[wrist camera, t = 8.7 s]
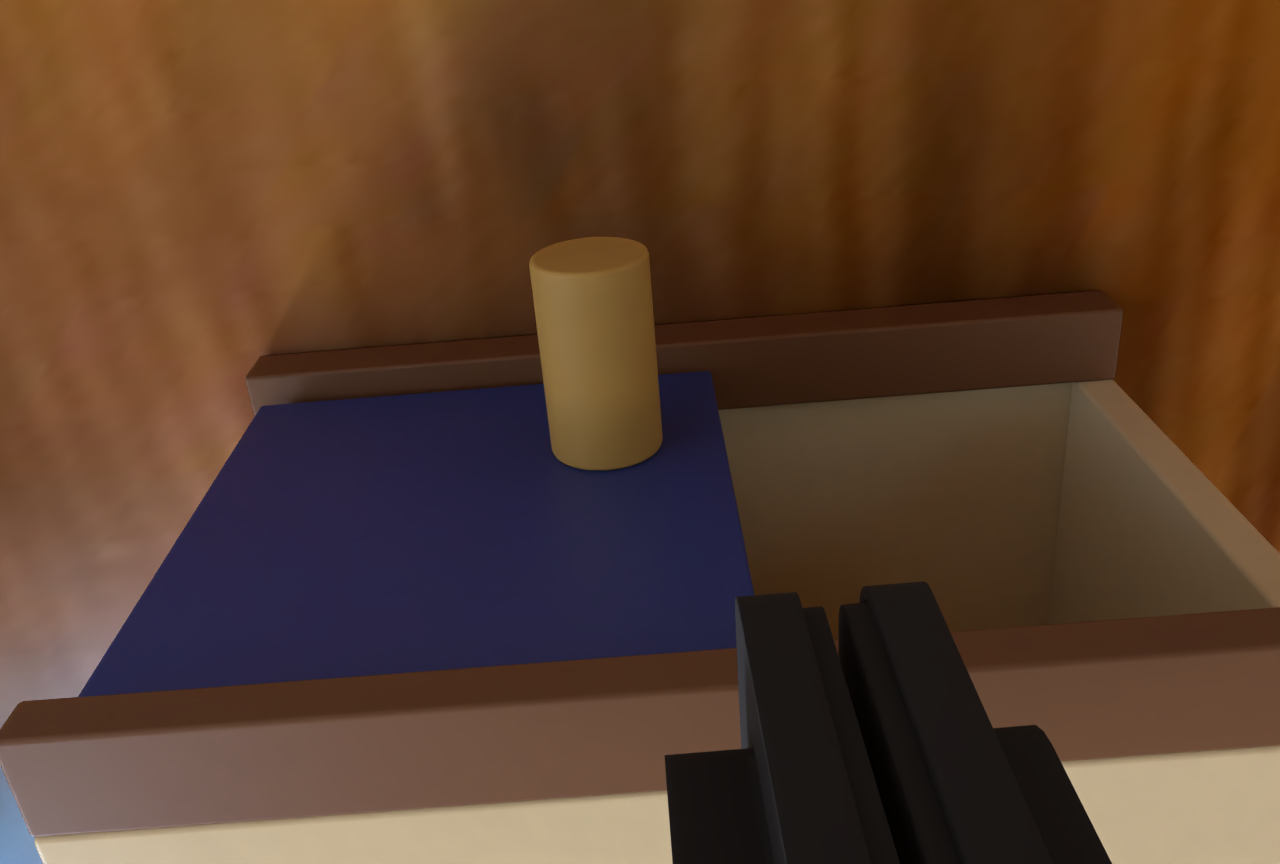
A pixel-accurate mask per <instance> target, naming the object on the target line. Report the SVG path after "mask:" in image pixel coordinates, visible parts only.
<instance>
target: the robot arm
mask: <svg viewBox="0 0 1280 864" xmlns="http://www.w3.org/2000/svg"><path fill="white" fill-rule="evenodd" d="M735 621H736V644H737V666H738V689H739V711H740V734H741V749H734V750H721V751H709V752H697V753H685V754H673V755H664V756H665V770H666V783H667V796H668V809H669V822H670V835H671V848H672V861H673V864H1112V862H1111V860H1110V858H1109V856H1108V854H1107V852H1106V850H1105V848H1104V846H1103V844H1102V842H1101V841H1100V839H1099V837H1098V835H1097V833H1096V831H1095V829H1094V827H1093V825H1092V823H1091V821H1090V819H1089V817H1088V815H1087V813H1086V811H1085V809H1084V807H1083V805H1082V803H1081V801H1080V799H1079V797H1078V795H1077V793H1076V791H1075V789H1074V787H1073V785H1072V783H1071V781H1070V779H1069V777H1068V775H1067V773H1066V771H1065V769H1064V767H1063V765H1062V763H1061V761H1060V759H1059V757H1058V755H1057V753H1056V751H1055V749H1054V747H1053V745H1052V743H1051V742H1050V740H1049V739H1048V737H1047V736H1046V734H1045V732H1044V731H1043V730H1042V729H1040V728H1039V727H1038V726H1036V725H1026V726H1014V727H1002V728H993V727H992V725H991V722H990V720H989V718H988V716H987V713H986V711H985V709H984V707H983V704H982V702H981V700H980V698H979V696H978V693H977V691H976V689H975V687H974V684H973V682H972V680H971V678H970V675H969V673H968V671H967V669H966V666H965V664H964V662H963V660H962V657H961V655H960V653H959V651H958V648H957V646H956V644H955V642H954V639H953V637H952V635H951V633H950V631H949V628H948V626H947V624H946V622H945V619H944V617H943V615H942V613H941V610H940V608H939V606H938V604H937V601H936V599H935V597H934V595H933V592H932V590H931V588H930V587H929V585H928V583H926V582H924V581H922V582H909V583H897V584H885V585H873V586H864V587H863V588H862V589H861V593H860V600H859V603H855V604H843V605H841V606H840V609H839V632H838V653H837V650H836V646H835V643H834V640H833V636H832V633H831V630H830V626H829V623H828V620H827V616H826V613H825V610H824V608H823V607H822V606H819V607H807V608H802V605H801V601H800V598H799V595H798V593H797V592H788V593H776V594H764V595H752V596H740V597H736V599H735Z"/></svg>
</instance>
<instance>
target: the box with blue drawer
mask: <svg viewBox="0 0 1280 864" xmlns="http://www.w3.org/2000/svg"><path fill="white" fill-rule="evenodd" d="M1122 318H1123V309H1122V308H1121V307H1120V306H1119V305H1118V304H1117V303H1116V302H1114V301H1113V300H1112V299H1111V298H1110V297H1109V296H1108V295H1107V294H1105V293H1104V292H1103V291H1100V290H1099V291H1087V292H1074V293H1061V294H1048V295H1036V296H1023V297H1010V298H997V299H985V300H972V301H959V302H946V303H934V304H921V305H908V306H895V307H883V308H870V309H857V310H844V311H832V312H819V313H806V314H793V315H781V316H768V317H755V318H742V319H730V320H717V321H704V322H691V323H679V324H666V325H654V327H655V341H656V354H657V368H658V375H663V374H676V373H689V372H702V371H710V372H711V375H712V380H713V386H714V391H715V396H716V401H717V406H718V411H719V416H720V421H721V426H722V431H723V436H724V441H725V447H726V452H727V457H728V462H729V467H730V472H731V477H732V482H733V487H734V492H735V497H736V502H737V508H738V513H739V518H740V523H741V528H742V533H743V538H744V543H745V548H746V553H747V558H748V564H749V569H750V574H751V579H752V584H753V589H754V594H755V595H764V594H776V593H788V592H797V593H798V595H799V598H800V601H801V605H802V608H807V607H819V606H822V607H823V608H824V610H825V613H826V616H827V620H828V623H829V626H830V630H831V633H832V636H833V640H834V643H835V646H836V650H837V653H838V632H839V609H840V606H841V605H843V604H855V603H859V600H860V593H861V589H862V588H863V587H864V586H873V585H885V584H897V583H909V582H922V581H924V582H926V583H928V585H929V587H930V588H931V590H932V592H933V595H934V597H935V599H936V601H937V604H938V606H939V608H940V610H941V613H942V615H943V617H944V619H945V622H946V624H947V626H948V628H949V631H950V633H951V635H952V637H953V639H954V642H955V644H956V646H957V648H958V651H959V653H960V655H961V657H962V660H963V662H964V664H965V666H966V669H967V671H968V673H969V675H970V678H971V680H972V682H973V684H974V687H975V689H976V691H977V693H978V696H979V698H980V700H981V702H982V704H983V707H984V709H985V711H986V713H987V716H988V718H989V720H990V722H991V725H992V727H993V728H1002V727H1014V726H1026V725H1036V726H1038V727H1039V728H1040V729H1042V730H1043V731H1044V732H1045V734H1046V736H1047V737H1048V739H1049V740H1050V742H1051V743H1052V745H1053V747H1054V749H1055V751H1056V753H1057V755H1058V757H1059V759H1060V761H1061V763H1062V765H1063V767H1064V769H1065V771H1066V773H1067V775H1068V777H1069V779H1070V781H1071V783H1072V785H1073V787H1074V789H1075V791H1076V793H1077V795H1078V797H1079V799H1080V801H1081V803H1082V805H1083V807H1084V809H1085V811H1086V813H1087V815H1088V817H1089V819H1090V821H1091V823H1092V825H1093V827H1094V829H1095V831H1096V833H1097V835H1098V837H1099V839H1100V841H1101V842H1102V844H1103V846H1104V848H1105V850H1106V852H1107V854H1108V856H1109V858H1110V860H1111V862H1112V864H1280V553H1279V552H1278V551H1277V550H1276V549H1275V548H1274V547H1273V546H1272V545H1271V544H1270V543H1269V542H1268V541H1267V540H1266V539H1265V538H1264V537H1263V536H1262V535H1261V533H1260V532H1259V531H1258V530H1257V529H1256V528H1255V527H1254V526H1253V525H1252V524H1251V523H1250V522H1249V521H1248V520H1247V519H1246V518H1245V517H1244V516H1243V515H1242V514H1241V513H1240V512H1239V511H1238V510H1237V508H1236V507H1235V506H1234V505H1233V504H1232V503H1231V502H1230V501H1229V500H1228V499H1227V498H1226V497H1225V496H1224V495H1223V494H1222V493H1221V492H1220V491H1219V490H1218V489H1217V488H1216V487H1215V486H1214V485H1213V483H1212V482H1211V481H1210V480H1209V479H1208V478H1207V477H1206V476H1205V475H1204V474H1203V473H1202V472H1201V471H1200V470H1199V469H1198V468H1197V467H1196V466H1195V465H1194V464H1193V463H1192V462H1191V461H1190V459H1189V458H1188V457H1187V456H1186V455H1185V454H1184V453H1183V452H1182V451H1181V450H1180V449H1179V448H1178V447H1177V446H1176V445H1175V444H1174V443H1173V442H1172V441H1171V440H1170V439H1169V438H1168V437H1167V436H1166V434H1165V433H1164V432H1163V431H1162V430H1161V429H1160V428H1159V427H1158V426H1157V425H1156V424H1155V423H1154V422H1153V421H1152V420H1151V419H1150V418H1149V417H1148V416H1147V415H1146V414H1145V413H1144V412H1143V411H1142V409H1141V408H1140V407H1139V406H1138V405H1137V404H1136V403H1135V402H1134V401H1133V400H1132V399H1131V398H1130V397H1129V396H1128V395H1127V394H1126V393H1125V392H1124V391H1123V390H1122V389H1121V388H1120V387H1119V385H1118V384H1117V383H1116V382H1115V381H1114V380H1113V379H1114V378H1115V375H1116V367H1117V359H1118V351H1119V343H1120V334H1121V326H1122ZM245 381H246V385H247V389H248V393H249V397H250V401H251V405H252V409H253V413H254V417H255V415H256V414H257V412H258V411H259V409H260V407H261V406H265V405H278V404H291V403H304V402H316V401H329V400H342V399H355V398H368V397H381V396H393V395H406V394H419V393H432V392H445V391H458V390H470V389H483V388H496V387H509V386H522V385H535V384H544V382H543V374H542V366H541V358H540V349H539V341H538V335H526V336H513V337H500V338H487V339H475V340H462V341H449V342H436V343H424V344H411V345H398V346H385V347H372V348H360V349H347V350H334V351H321V352H309V353H296V354H283V355H270V356H261V357H259V359H258V360H257V362H256V363H255V365H254V366H253V367H252V369H251V370H250V372H249V373H248V375H247V376H246V379H245ZM734 749H741V734H740V711H739V689H738V666H737V648H728V649H714V650H701V651H688V652H674V653H661V654H648V655H634V656H621V657H608V658H594V659H581V660H568V661H554V662H541V663H528V664H514V665H501V666H488V667H474V668H461V669H448V670H434V671H421V672H408V673H394V674H381V675H368V676H354V677H341V678H328V679H314V680H301V681H288V682H274V683H261V684H248V685H234V686H221V687H208V688H194V689H181V690H168V691H154V692H141V693H128V694H114V695H101V696H88V697H74V698H61V699H48V700H34V701H23V702H21V703H19V704H18V705H17V706H16V708H15V709H14V711H13V712H12V713H11V715H10V716H9V718H8V719H7V721H6V722H5V723H4V725H3V726H2V728H1V729H0V765H1V767H2V770H3V772H4V775H5V777H6V779H7V782H8V784H9V786H10V789H11V791H12V793H13V796H14V798H15V800H16V803H17V805H18V807H19V810H20V812H21V814H22V817H23V819H24V821H25V824H26V826H27V828H28V831H29V833H30V835H32V836H34V837H35V845H36V848H37V850H38V852H39V855H40V857H41V859H42V862H43V864H673V861H672V848H671V835H670V822H669V809H668V796H667V783H666V770H665V756H664V755H673V754H685V753H697V752H709V751H721V750H734Z"/></svg>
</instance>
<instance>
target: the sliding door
mask: <svg viewBox="0 0 1280 864" xmlns="http://www.w3.org/2000/svg"><path fill="white" fill-rule="evenodd" d="M529 268H530V276H531V284H532V293H533V301H534V309H535V317H536V325H537V333H538V341H539V349H540V358H541V366H542V374H543V382H544V384H535V385H522V386H509V387H496V388H483V389H470V390H458V391H445V392H432V393H419V394H406V395H393V396H381V397H368V398H355V399H342V400H329V401H316V402H304V403H291V404H278V405H265V406H261V407H260V409H259V411H258V412H257V414H256V415H255V417H254V419H253V420H252V422H251V423H250V425H249V426H248V428H247V430H246V431H245V433H244V434H243V436H242V438H241V439H240V441H239V442H238V444H237V446H236V447H235V449H234V450H233V452H232V453H231V455H230V457H229V458H228V460H227V461H226V463H225V465H224V466H223V468H222V469H221V471H220V472H219V474H218V476H217V477H216V479H215V480H214V482H213V484H212V485H211V487H210V488H209V490H208V492H207V493H206V495H205V496H204V498H203V499H202V501H201V503H200V504H199V506H198V507H197V509H196V511H195V512H194V514H193V515H192V517H191V518H190V520H189V522H188V523H187V525H186V526H185V528H184V530H183V531H182V533H181V534H180V536H179V537H178V539H177V541H176V542H175V544H174V545H173V547H172V549H171V550H170V552H169V553H168V555H167V557H166V558H165V560H164V561H163V563H162V564H161V566H160V568H159V569H158V571H157V572H156V574H155V576H154V577H153V579H152V580H151V582H150V583H149V585H148V587H147V588H146V590H145V591H144V593H143V595H142V596H141V598H140V599H139V601H138V603H137V604H136V606H135V607H134V609H133V610H132V612H131V614H130V615H129V617H128V618H127V620H126V622H125V623H124V625H123V626H122V628H121V629H120V631H119V633H118V634H117V636H116V637H115V639H114V641H113V642H112V644H111V645H110V647H109V649H108V650H107V652H106V653H105V655H104V656H103V658H102V660H101V661H100V663H99V664H98V666H97V668H96V669H95V671H94V672H93V674H92V675H91V677H90V679H89V680H88V682H87V683H86V685H85V687H84V688H83V690H82V691H81V693H80V695H79V696H78V697H88V696H101V695H114V694H128V693H141V692H154V691H168V690H181V689H194V688H208V687H221V686H234V685H248V684H261V683H274V682H288V681H301V680H314V679H328V678H341V677H354V676H368V675H381V674H394V673H408V672H421V671H434V670H448V669H461V668H474V667H488V666H501V665H514V664H528V663H541V662H554V661H568V660H581V659H594V658H608V657H621V656H634V655H648V654H661V653H674V652H688V651H701V650H714V649H728V648H737V644H736V621H735V599H736V597H740V596H752V595H755V594H754V589H753V584H752V579H751V574H750V569H749V564H748V558H747V553H746V548H745V543H744V538H743V533H742V528H741V523H740V518H739V513H738V508H737V502H736V497H735V492H734V487H733V482H732V477H731V472H730V467H729V462H728V457H727V452H726V447H725V441H724V436H723V431H722V426H721V421H720V416H719V411H718V406H717V401H716V396H715V391H714V386H713V380H712V375H711V372H710V371H702V372H689V373H676V374H663V375H658V368H657V354H656V341H655V327H654V313H653V300H652V286H651V273H650V259H649V252H648V250H647V248H646V247H645V246H644V245H643V244H641V243H640V242H637V241H634V240H630V239H625V238H619V237H586V238H578V239H572V240H567V241H562V242H559V243H555V244H552V245H550V246H547V247H545V248H543V249H541V250H539V251H537V252H536V253H535V254H533V256H532V257H531V259H530V262H529Z"/></svg>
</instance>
